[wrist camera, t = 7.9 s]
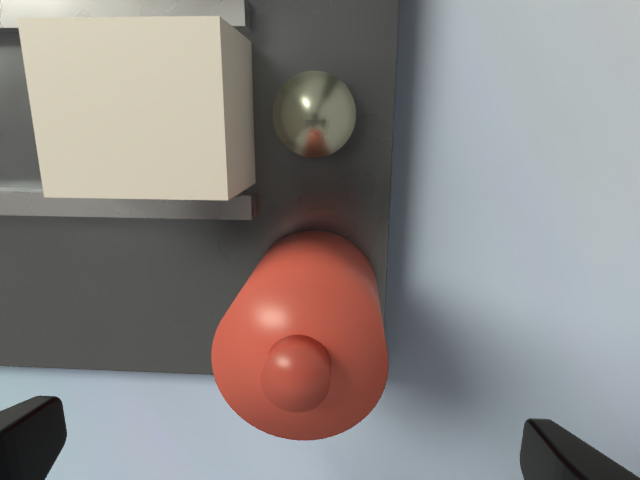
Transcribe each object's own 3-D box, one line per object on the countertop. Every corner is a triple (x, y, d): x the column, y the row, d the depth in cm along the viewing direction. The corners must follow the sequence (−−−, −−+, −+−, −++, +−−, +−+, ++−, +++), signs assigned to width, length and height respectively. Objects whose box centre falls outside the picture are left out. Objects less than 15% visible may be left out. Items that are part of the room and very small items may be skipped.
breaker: (251, 41, 14) (219, 15, 11) (255, 183, 15) (228, 200, 12) (95, 42, 14) (16, 18, 11) (111, 181, 15) (44, 197, 12)
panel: (411, -360, 12) (424, -461, 10) (379, 364, 18) (383, 397, 16) (-200, -322, 13) (-304, -406, 11) (-50, 347, 19) (-101, 376, 17)
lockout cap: (379, 232, 15) (396, 295, 10) (374, 349, 16) (387, 467, 11) (251, 229, 16) (194, 289, 10) (255, 345, 17) (206, 457, 11)
